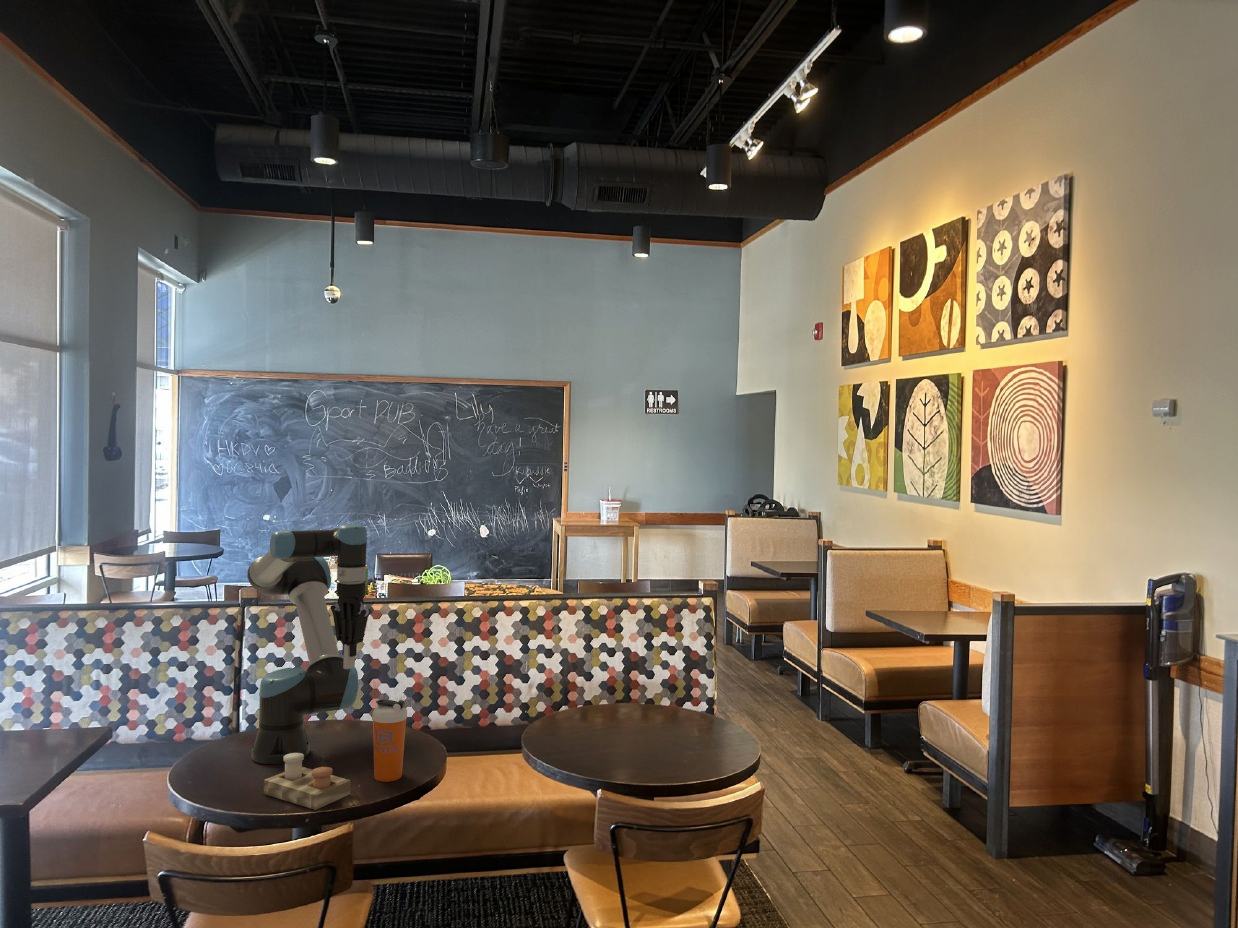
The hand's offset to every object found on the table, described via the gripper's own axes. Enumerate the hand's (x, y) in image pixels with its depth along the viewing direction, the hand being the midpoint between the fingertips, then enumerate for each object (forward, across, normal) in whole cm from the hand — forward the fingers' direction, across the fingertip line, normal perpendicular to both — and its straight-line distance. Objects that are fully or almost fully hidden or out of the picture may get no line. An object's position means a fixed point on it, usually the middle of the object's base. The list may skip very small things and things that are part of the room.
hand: (349, 667), depth 232 cm
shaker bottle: (+27, +16, -1) cm, 31 cm away
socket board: (+26, +7, -20) cm, 34 cm away
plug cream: (+25, +2, -20) cm, 32 cm away
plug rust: (+26, +12, -20) cm, 35 cm away
